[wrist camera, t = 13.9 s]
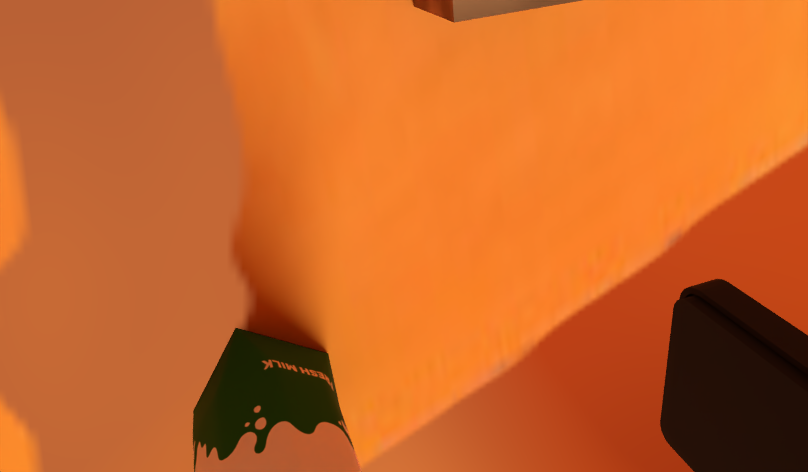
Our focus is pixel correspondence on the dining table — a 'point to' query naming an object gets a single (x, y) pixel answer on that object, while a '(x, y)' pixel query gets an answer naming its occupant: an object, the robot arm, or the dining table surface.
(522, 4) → the rack
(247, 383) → the milk carton
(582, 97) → the dining table surface
